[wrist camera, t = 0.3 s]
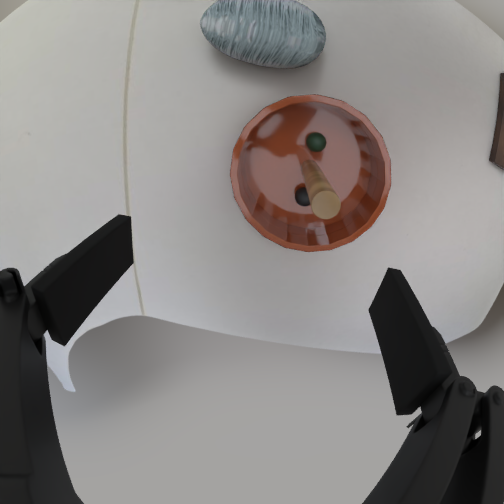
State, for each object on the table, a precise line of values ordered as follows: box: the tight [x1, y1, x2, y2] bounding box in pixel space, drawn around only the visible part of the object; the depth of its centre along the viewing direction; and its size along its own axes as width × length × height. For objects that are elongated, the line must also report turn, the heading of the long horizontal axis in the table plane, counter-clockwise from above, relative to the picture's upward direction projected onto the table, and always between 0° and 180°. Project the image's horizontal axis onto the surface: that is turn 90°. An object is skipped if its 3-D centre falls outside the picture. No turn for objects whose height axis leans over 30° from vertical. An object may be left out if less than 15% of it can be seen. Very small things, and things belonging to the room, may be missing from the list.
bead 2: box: [306, 132, 326, 152], centre depth 29 cm, size 2×2×2 cm
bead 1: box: [295, 187, 310, 207], centre depth 33 cm, size 2×2×2 cm
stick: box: [301, 160, 341, 219], centre depth 25 cm, size 2×2×15 cm
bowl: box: [230, 94, 391, 252], centre depth 30 cm, size 18×18×6 cm
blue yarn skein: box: [200, 0, 326, 68], centre depth 22 cm, size 14×10×10 cm
